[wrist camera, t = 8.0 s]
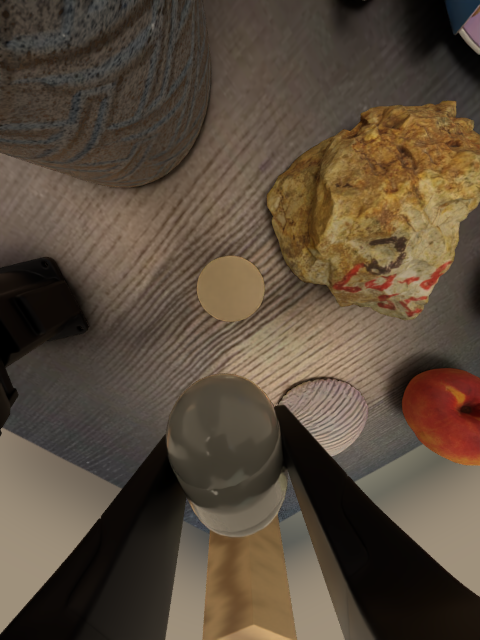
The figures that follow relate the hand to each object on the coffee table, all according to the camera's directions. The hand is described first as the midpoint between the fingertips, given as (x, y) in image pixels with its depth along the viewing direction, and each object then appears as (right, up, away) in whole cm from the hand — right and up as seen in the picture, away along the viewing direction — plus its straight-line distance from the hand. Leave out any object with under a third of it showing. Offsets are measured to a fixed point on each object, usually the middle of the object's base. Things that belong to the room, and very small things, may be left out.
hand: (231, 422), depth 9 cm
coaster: (0, +7, +10) cm, 12 cm away
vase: (-7, +19, +5) cm, 21 cm away
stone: (0, 0, +1) cm, 1 cm away
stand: (+1, -20, +22) cm, 30 cm away
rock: (+8, +11, +9) cm, 16 cm away
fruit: (+19, -3, +15) cm, 25 cm away
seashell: (+9, -6, +17) cm, 20 cm away
